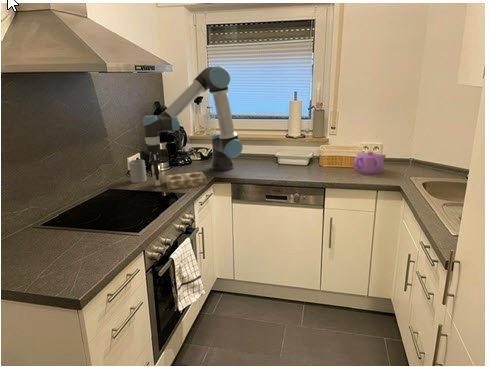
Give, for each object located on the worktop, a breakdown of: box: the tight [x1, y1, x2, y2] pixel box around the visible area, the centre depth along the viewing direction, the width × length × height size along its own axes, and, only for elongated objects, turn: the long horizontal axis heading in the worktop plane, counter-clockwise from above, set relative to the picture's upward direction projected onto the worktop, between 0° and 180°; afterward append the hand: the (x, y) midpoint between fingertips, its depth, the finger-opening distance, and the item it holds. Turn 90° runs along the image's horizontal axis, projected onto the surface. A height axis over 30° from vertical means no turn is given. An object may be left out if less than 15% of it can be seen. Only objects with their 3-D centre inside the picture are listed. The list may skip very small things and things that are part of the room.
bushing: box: [151, 164, 162, 188], centre depth 199 cm, size 4×4×12 cm
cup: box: [128, 159, 148, 184], centre depth 210 cm, size 9×9×12 cm
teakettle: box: [353, 151, 387, 176], centre depth 213 cm, size 17×17×12 cm
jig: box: [164, 171, 208, 190], centre depth 203 cm, size 22×14×4 cm, turn 107°
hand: (157, 183), depth 201 cm, fingers open, 7 cm apart
